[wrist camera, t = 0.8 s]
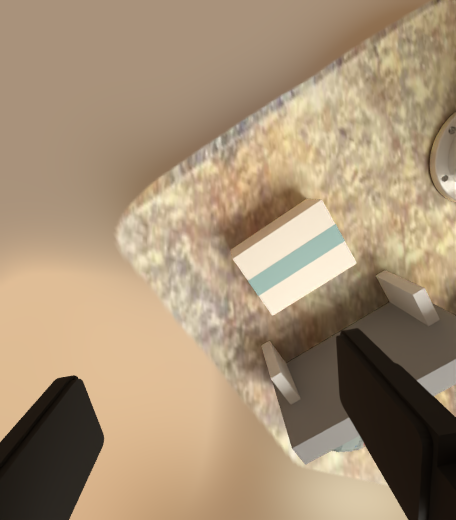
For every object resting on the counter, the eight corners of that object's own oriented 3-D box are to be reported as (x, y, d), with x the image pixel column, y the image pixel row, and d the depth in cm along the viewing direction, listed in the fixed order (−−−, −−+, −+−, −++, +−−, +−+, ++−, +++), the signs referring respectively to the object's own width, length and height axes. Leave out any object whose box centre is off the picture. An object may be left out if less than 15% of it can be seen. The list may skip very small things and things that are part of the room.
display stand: (394, 264, 35) (481, 298, 24) (415, 306, 37) (506, 357, 26) (252, 350, 38) (268, 419, 26) (279, 385, 40) (305, 464, 28)
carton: (306, 198, 32) (321, 199, 28) (337, 253, 35) (357, 263, 30) (230, 249, 34) (232, 259, 29) (264, 299, 36) (272, 315, 31)
